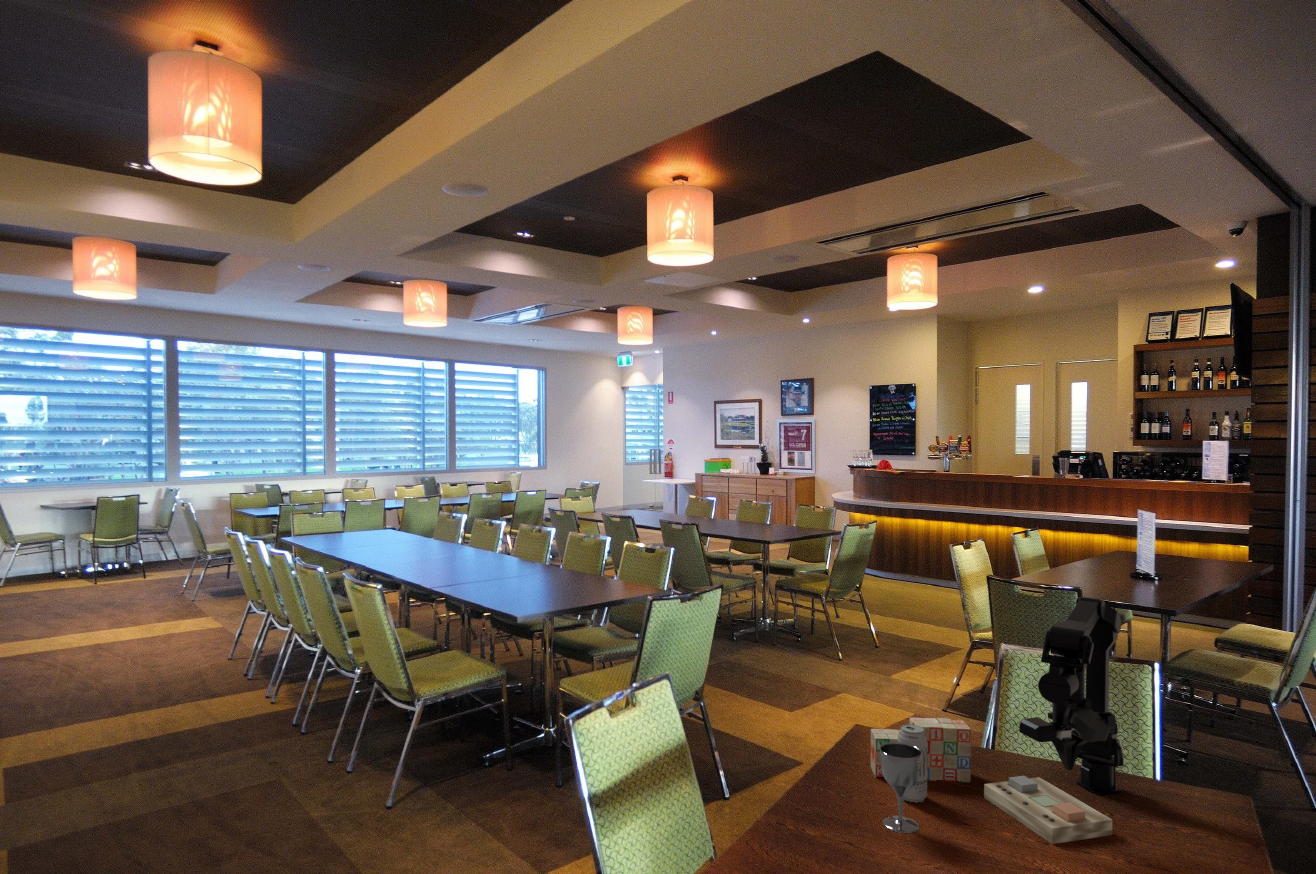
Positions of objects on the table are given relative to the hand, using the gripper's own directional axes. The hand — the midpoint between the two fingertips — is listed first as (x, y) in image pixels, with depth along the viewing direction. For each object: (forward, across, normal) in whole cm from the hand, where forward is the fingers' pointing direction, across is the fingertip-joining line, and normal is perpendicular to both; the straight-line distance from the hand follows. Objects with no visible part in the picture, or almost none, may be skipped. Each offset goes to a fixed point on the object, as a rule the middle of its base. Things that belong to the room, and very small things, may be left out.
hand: (1068, 769), depth 156 cm
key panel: (+12, 0, +6) cm, 14 cm away
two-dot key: (+9, 0, 0) cm, 9 cm away
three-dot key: (+9, 0, +13) cm, 16 cm away
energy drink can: (+12, -22, +20) cm, 32 cm away
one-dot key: (+11, 0, +6) cm, 13 cm away
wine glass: (+12, -31, +10) cm, 35 cm away
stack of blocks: (+12, -14, +30) cm, 36 cm away
